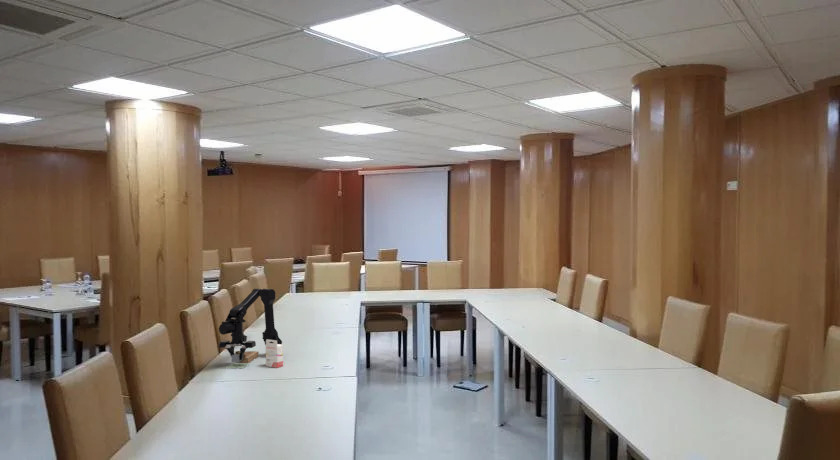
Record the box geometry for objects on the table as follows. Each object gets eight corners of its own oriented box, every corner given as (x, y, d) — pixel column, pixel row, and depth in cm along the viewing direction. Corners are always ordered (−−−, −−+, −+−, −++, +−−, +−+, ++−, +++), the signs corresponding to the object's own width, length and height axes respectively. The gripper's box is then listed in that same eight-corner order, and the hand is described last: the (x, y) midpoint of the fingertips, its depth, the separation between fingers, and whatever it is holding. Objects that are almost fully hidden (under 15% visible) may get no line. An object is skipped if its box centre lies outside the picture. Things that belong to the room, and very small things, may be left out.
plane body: (258, 356, 332) (258, 346, 331) (247, 363, 316) (247, 352, 316) (246, 356, 332) (246, 346, 332) (235, 363, 316) (235, 352, 316)
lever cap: (243, 359, 313) (243, 350, 313) (238, 362, 307) (238, 353, 307) (236, 359, 313) (236, 350, 313) (231, 362, 307) (231, 353, 307)
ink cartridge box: (283, 365, 310) (283, 339, 310) (277, 368, 306) (277, 340, 306) (271, 364, 314) (271, 337, 314) (265, 366, 310) (265, 339, 310)
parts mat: (248, 364, 314) (248, 363, 314) (242, 368, 305) (242, 367, 305) (232, 364, 315) (232, 363, 315) (226, 368, 306) (225, 367, 306)
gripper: (259, 328, 317) (259, 356, 317) (226, 328, 319) (227, 356, 319) (251, 332, 306) (252, 361, 306) (218, 332, 307) (218, 361, 308)
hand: (237, 359), depth 310 cm, fingers closed on lever cap, 4 cm apart
